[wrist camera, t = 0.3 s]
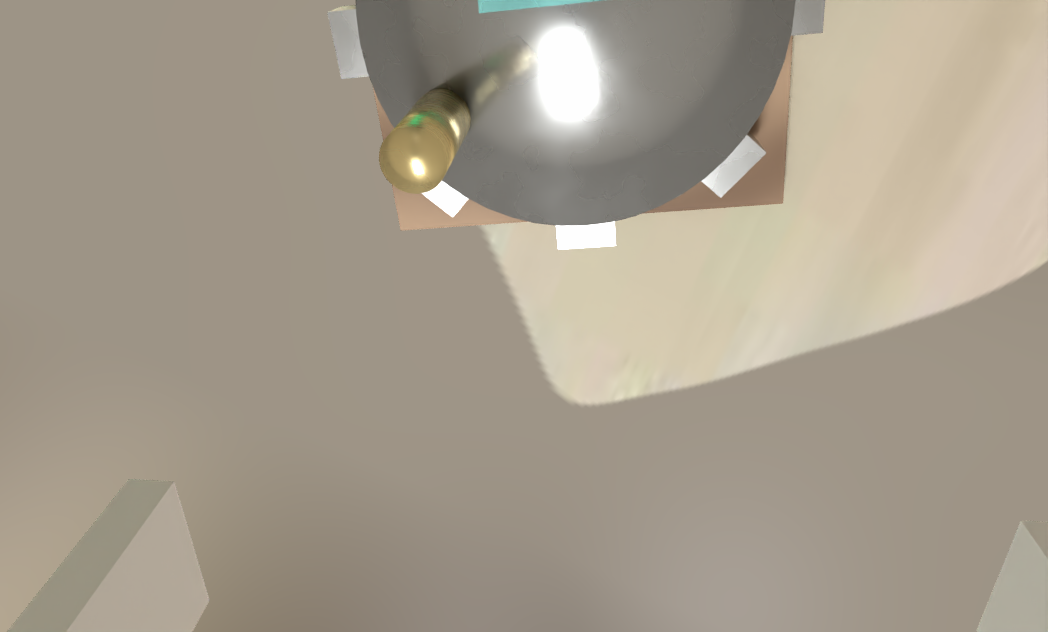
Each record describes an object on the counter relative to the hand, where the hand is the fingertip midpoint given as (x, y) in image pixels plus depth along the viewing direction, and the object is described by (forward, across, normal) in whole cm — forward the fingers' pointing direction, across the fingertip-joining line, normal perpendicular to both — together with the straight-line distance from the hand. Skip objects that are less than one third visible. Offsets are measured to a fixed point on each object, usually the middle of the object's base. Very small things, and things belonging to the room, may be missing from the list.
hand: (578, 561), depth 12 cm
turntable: (+25, -1, +5) cm, 25 cm away
